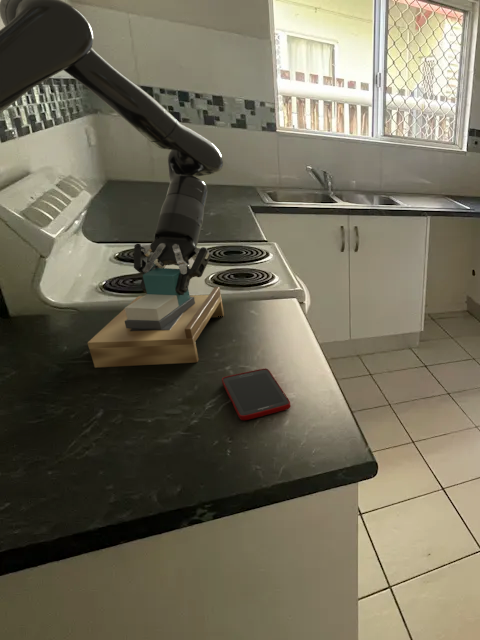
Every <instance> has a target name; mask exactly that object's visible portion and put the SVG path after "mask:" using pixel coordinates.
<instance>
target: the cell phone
mask: <svg viewBox="0 0 480 640" xmlns="http://www.w3.org/2000/svg"><path fill="white" fill-rule="evenodd" d="M221 382H222V386H223V388H224V389H225V392H226V394H227V396H228V398H229V400H230V402H231V403H232V406H233V408H234V410H235V413H236V415H237V416H238V418H239V419H240V421H249V420H253V419H256V418H260V417H264V416H267V415H272V414H275V413H279V412H283V411H286V410H288V409H290V408H291V407H292V406H291V401H290V399H289V397H288V396H287V394H286V393H285V391H284V390H283V388H282V387H281V386H280V384H279V383H278V381H277V380H276V378H275V377H274V375H273V374H272V372H271V371H270V369H268V368H259V369H254V370H250V371H245V372H239V373H236V374H235V373H234V374H231V375H227V376H224V377H222V378H221Z"/></svg>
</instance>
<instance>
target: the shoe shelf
mask: <svg viewBox="0 0 480 640" xmlns="http://www.w3.org/2000/svg"><path fill="white" fill-rule="evenodd" d="M189 295H190V294H189ZM143 296H144V295H138V296H137V297H136V298H134V299H133V300H132V301H131V302H130V303H129V304H128V305H130V304H132V303H133V302H135V301H137V300H138V299H140V298H142V297H143ZM190 297H194V300H195V304H194V305H192V306H191V307H190V308H188V309H187V310H186V311H184V312H183V313H182V314H181V315H179V316H178V317H177V318H175V319H174V320H173V321H171V322H170V323H169V324H167V325H166V326H165V327H163V328H162V329H135V328H126V325H125V320H127V315H126V311H125V308H123V310H121V311H120V312H119V313H118V314H117V315H116V316H114V317H113V319H111V321H109V322H108V323H107V324H105V326H104V327H103V328H101V330H99V331H98V332H97V333H96V334H95V335H94V336H93V337H92V338H91V339H90V340H88V341H87V346H88V350H89V353H90V356H91V359H92V363H93V367H94V368H95V369H96V368H114V367H115V368H116V367H133V366H134V367H135V366H154V365H155V366H156V365H174V364H190V363H191V364H193V363H194V364H195V363H198V362H199V360H200V358H199V354H198V349H197V344H196V343H197V342H196V341H197V340H198V338H199V337H200V335H201V334H202V332H203V331H204V329H205V327H206V326H207V324H208V323H209V321H210V319H211V318H223V317H224V316H225V311H224V306H223V300H222V294H221V287H220V286H214V287H213V289H212V290H211V291H210V293H209V294H208V295H207V294H205V295H204V294H203V295H201V294H200V295H199V294H198V295H196V294H195V295H190ZM218 316H219V317H218ZM220 316H221V317H220ZM222 316H223V317H222Z"/></svg>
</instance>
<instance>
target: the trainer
mask: <svg viewBox="0 0 480 640" xmlns="http://www.w3.org/2000/svg"><path fill="white" fill-rule="evenodd" d="M179 275H181V273H180V269H179V268H168V267H167V268H166V267H165V268H155V269H153V270H151V271H149V272H147V273H145V274H144V275H142V278H143V279H144V283H145V287H146V292H147V293H146V294H145V295H142V296H143V297H142V298H140V299H138V300H137V301H135V302H133V303H132V304H130V303H129V304H130V305H129V304H128V305H127V306H125V307H124V309H125V311H126V315H127V320H125V325H126V328H135V329H162V328H163V327H165V326H166V325H167V324H169V323H170V322H171V321H173V320H174V319H175V318H177V317H178V316H179V315H181V314H182V313H183V312H184V311H186V310H187V309H188V308H190V307H191V306H192V305H194V304H195V300H194V297H190V290H189V289H188V291H187V292H186V293H184V295H179V294H178V293H177V292H176V291H175V289H176V285H177V281H178V277H179Z"/></svg>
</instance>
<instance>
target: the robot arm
mask: <svg viewBox="0 0 480 640" xmlns="http://www.w3.org/2000/svg"><path fill="white" fill-rule="evenodd" d="M0 19H1V22H2V23H3V25H4V26H3V27H2V28H1V29H0V114H2V113H3V112H4V111H6V110H7V109H8V108H9V107H11V106H13V104H15V103H16V102H17V101H18V100H19V99H21V98H22V97H23V96H25V94H26V93H28V92H29V91H31V90H32V89H33V88H35V87H36V86H38V85H40V84H41V83H43V82H45V81H46V80H48V79H50V78H52V77H53V76H55V75H57V74H59V73H60V72H63V71H64V72H65V73H66V74H68V75H69V76H70V77H72V78H73V79H75V80H76V81H77V82H78V83H80V84H81V85H83V86H84V87H85V88H86V89H88V90H89V91H90V92H92V94H94V95H95V96H96V97H98V98H99V99H100V100H101V101H102V102H104V103H105V104H106V105H107V106H108V107H109V108H110V109H112V110H113V111H114V112H115V113H116V114H117V115H118V116H120V117H121V118H122V119H123V120H125V122H127V123H128V124H129V125H130V126H131V127H133V129H135V130H136V131H137V132H138V133H140V134H141V135H142V136H143V137H145V139H147V140H148V141H149V142H151V143H152V144H153V145H154V146H155V147H157V148H159V149H163V150H170V151H169V152H168V156H167V169H168V178H169V185H168V188H167V192H166V196H165V199H164V201H163V203H162V206H161V209H160V212H159V216H158V221H157V224H156V228H155V231H154V240H153V241H152V242H151V243H150V244H149V245H148V244H147V245H141V244H140V243H136V244H135V243H134V245H133V246H134V247H133V269H134V270H135V271H137V272H138V273H139V274H140V275H142V276H143V275H144V274H145V273H147V272H149V271H151V270H153V269H155V268H166V266H178V269H180V273H181V275H179V277H178V281H177V285H176V289H175V291H176V292H177V293H178V294H179V295H184V293H186V292H187V291H188V290H189V286H190V283H191V280H192V279H194V278H201V277H202V276H203V274H204V273H205V270H206V268H207V266H208V264H209V261H210V259H211V257H212V253H210V251H209V250H208V249H207V248H206V247H205V246H202V247H201V248H199V247H197V246H198V243H199V240H200V235H201V230H202V226H203V224H204V223H203V222H204V216H205V215H204V213H205V206H206V202H207V198H208V186H207V184H206V183H205V182H204V181H203V180H201V179H200V178H198V177H202V176H208V175H214V174H217V173H219V172H220V171H221V170H222V169H223V166H224V159H223V155H222V153H221V152H220V150H219V149H218V147H217V146H216V145H215V144H214V143H213V142H212V141H210V140H209V139H208V138H207V137H204V136H203V135H201V134H199V132H196V131H195V130H194V129H192V128H190V127H188V126H187V125H185V124H183V123H181V122H180V121H178V120H177V119H176V117H175V116H173V115H172V114H171V113H170V112H169V110H167V108H165V107H164V106H163V105H162V104H161V103H160V102H159V101H157V100H156V99H155V98H154V97H153V96H151V95H150V94H149V92H147V91H145V90H144V89H143V88H141V87H140V86H139V85H137V84H136V83H135V82H134V81H132V80H131V79H129V78H128V77H127V76H126V75H124V73H122V72H120V71H119V70H118V69H116V68H115V67H114V66H113V65H112V64H111V63H109V62H108V61H107V60H106V59H105V58H104V57H102V56H101V55H100V54H99V53H98V52H97V51H96V50H95V49H94V48H93V43H94V32H93V29H92V26H91V24H90V22H89V21H88V19H87V18H86V16H84V14H83V13H82V12H81V11H80V10H78V9H76V8H75V7H74V6H72V5H71V4H69V3H67V2H65V1H63V0H0ZM151 252H152V254H151ZM150 254H151V256H150ZM194 256H195V259H194V260H193V262H192V265H191V263H190V260H191V259H192V258H193V257H194ZM139 286H140V288H141V289H142V291H143V292H144V293H145V294H147V292H146V287H145V283H144V279H143V277H142V278H141V282H140V285H139Z"/></svg>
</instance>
